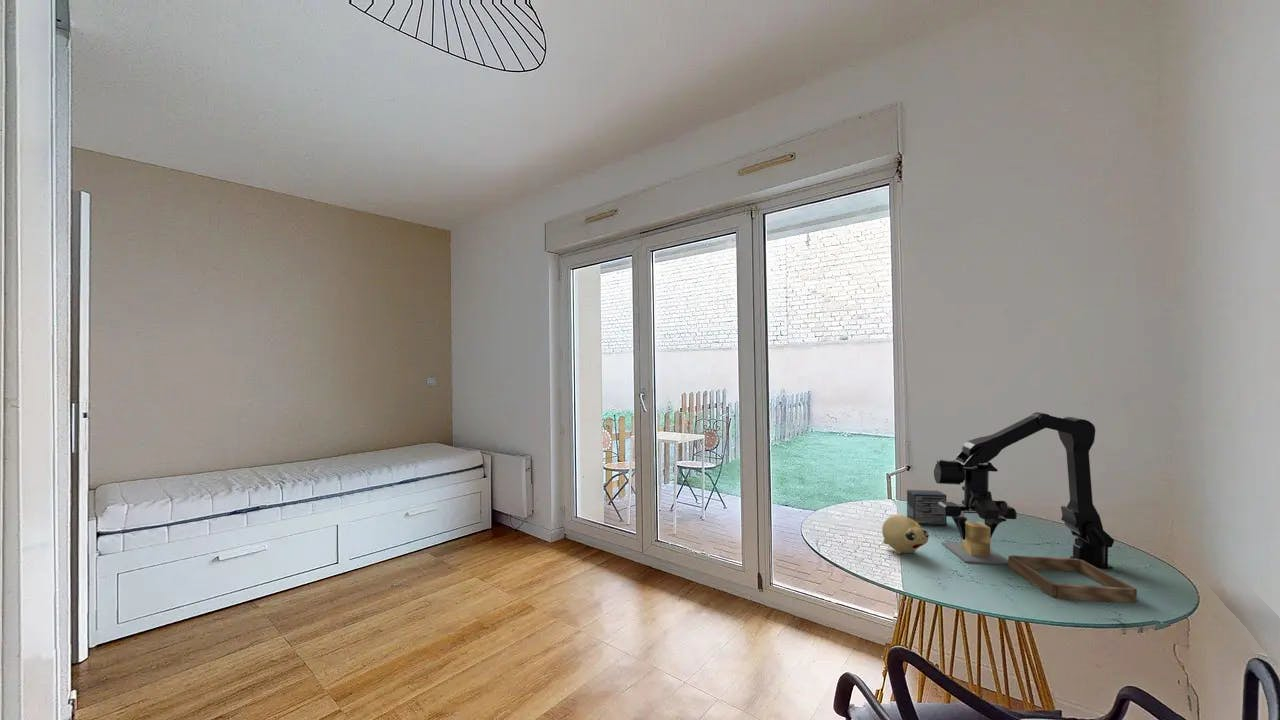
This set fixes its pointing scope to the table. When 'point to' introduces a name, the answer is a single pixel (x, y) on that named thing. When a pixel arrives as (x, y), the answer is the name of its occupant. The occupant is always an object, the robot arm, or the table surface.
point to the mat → (968, 558)
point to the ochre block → (977, 539)
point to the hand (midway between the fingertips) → (975, 540)
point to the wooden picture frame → (1111, 592)
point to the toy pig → (903, 534)
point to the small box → (925, 507)
